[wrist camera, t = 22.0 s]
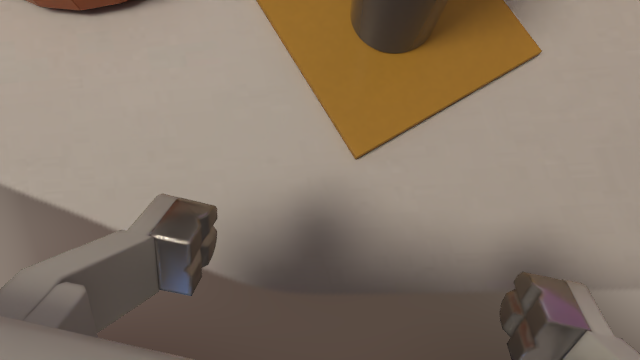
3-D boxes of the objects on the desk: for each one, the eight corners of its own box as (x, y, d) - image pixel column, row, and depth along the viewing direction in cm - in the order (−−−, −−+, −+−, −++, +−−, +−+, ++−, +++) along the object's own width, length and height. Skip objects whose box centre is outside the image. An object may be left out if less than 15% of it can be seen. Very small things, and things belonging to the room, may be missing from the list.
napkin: (538, 54, 20) (542, 50, 20) (355, 159, 19) (356, 157, 19) (420, -101, 22) (422, -107, 22) (247, -14, 21) (245, -19, 21)
